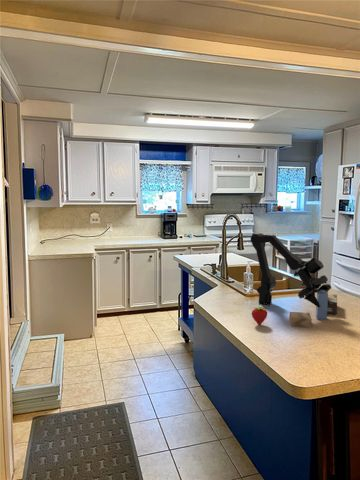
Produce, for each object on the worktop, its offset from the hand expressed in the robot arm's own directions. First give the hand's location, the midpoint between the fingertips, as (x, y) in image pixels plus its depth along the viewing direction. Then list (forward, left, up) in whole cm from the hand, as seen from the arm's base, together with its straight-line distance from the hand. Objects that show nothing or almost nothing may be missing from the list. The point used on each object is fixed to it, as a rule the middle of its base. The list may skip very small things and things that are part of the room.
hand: (324, 305), depth 179 cm
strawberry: (-31, -15, -7) cm, 35 cm away
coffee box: (+6, +25, -3) cm, 26 cm away
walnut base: (-12, -9, -7) cm, 16 cm away
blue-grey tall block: (-1, +1, -7) cm, 7 cm away
